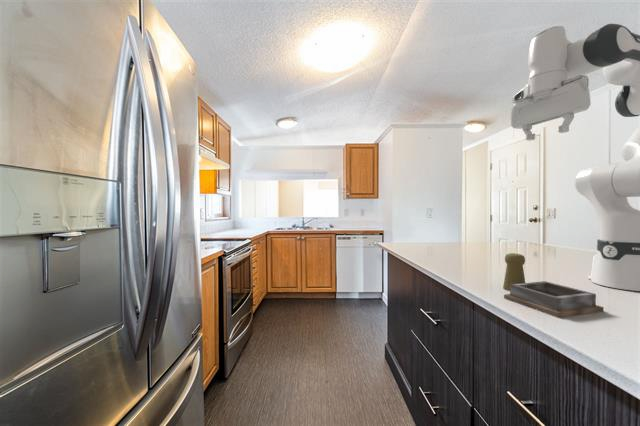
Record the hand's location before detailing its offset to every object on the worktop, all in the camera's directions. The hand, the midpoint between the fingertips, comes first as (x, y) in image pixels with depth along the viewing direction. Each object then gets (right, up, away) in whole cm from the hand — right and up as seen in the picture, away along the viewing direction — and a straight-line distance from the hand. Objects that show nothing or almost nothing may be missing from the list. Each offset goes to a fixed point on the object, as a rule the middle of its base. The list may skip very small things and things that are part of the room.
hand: (546, 136), depth 83 cm
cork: (-6, -46, +5) cm, 46 cm away
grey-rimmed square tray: (-5, -46, -8) cm, 47 cm away
